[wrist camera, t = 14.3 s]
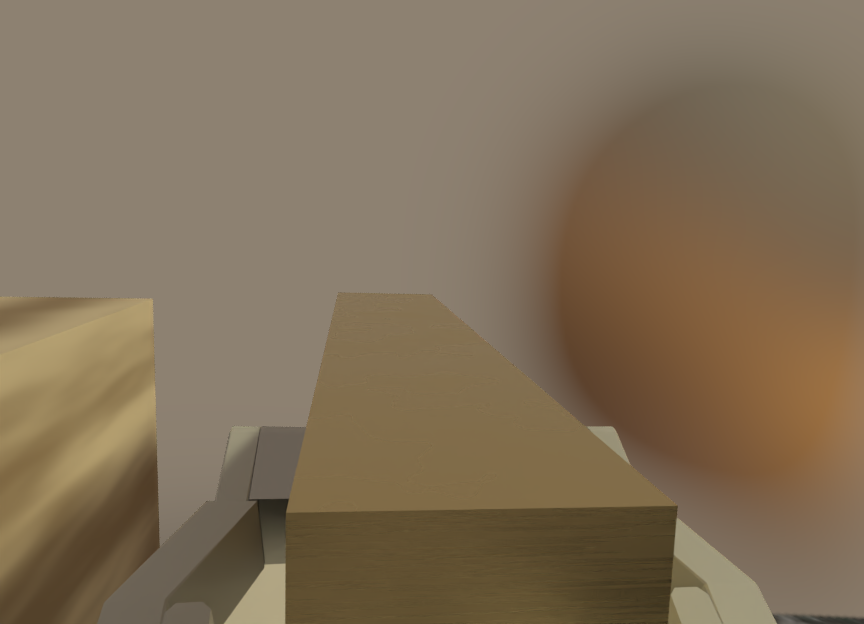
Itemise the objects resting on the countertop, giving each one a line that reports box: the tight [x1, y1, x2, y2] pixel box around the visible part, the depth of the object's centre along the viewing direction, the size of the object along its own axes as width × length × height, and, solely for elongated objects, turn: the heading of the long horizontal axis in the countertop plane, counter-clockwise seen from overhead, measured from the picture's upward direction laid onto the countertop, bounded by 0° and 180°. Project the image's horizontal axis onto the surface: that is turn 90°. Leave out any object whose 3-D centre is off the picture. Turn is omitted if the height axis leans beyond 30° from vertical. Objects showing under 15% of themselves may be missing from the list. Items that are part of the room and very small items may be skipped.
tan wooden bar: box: [285, 293, 678, 624], centre depth 18 cm, size 4×22×4 cm, turn 7°
